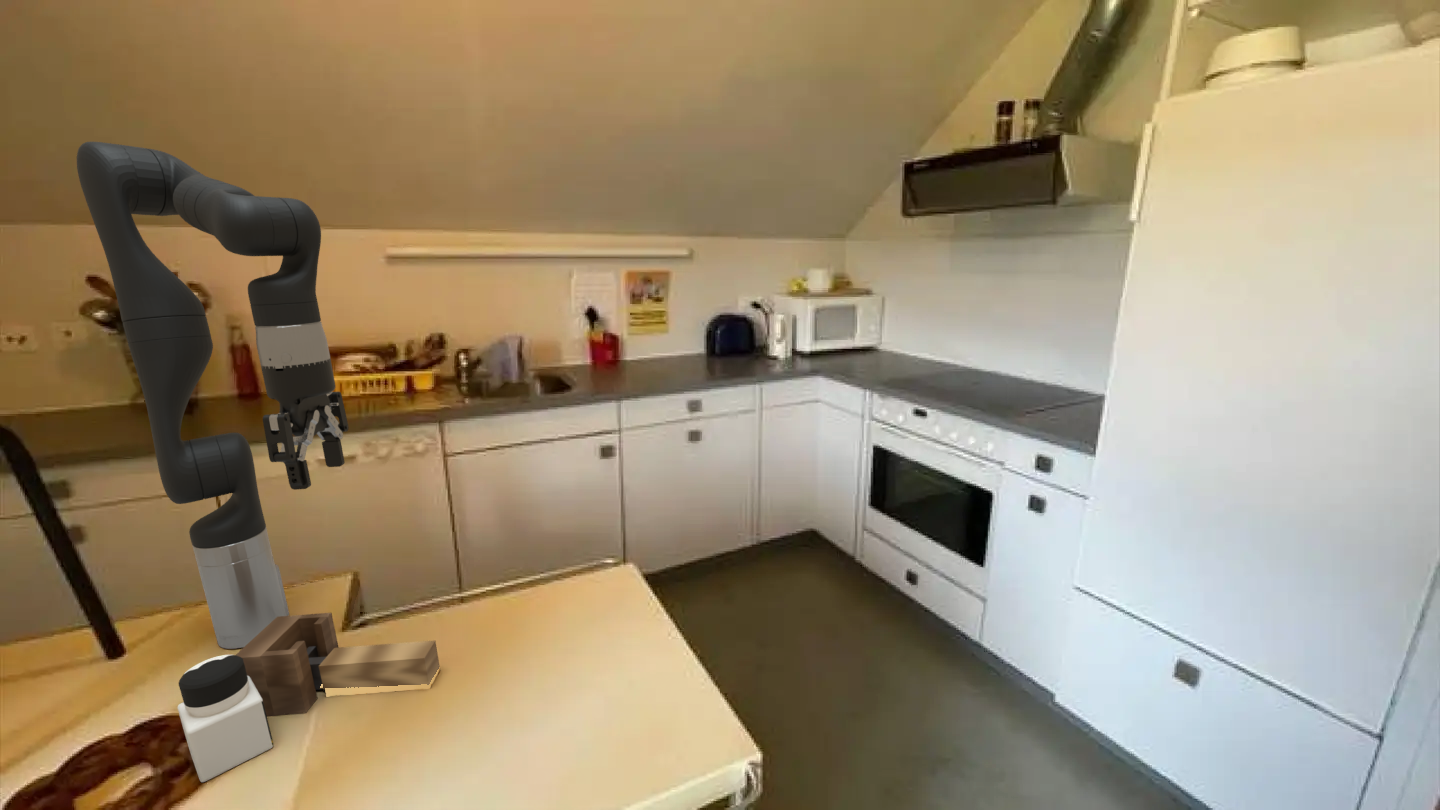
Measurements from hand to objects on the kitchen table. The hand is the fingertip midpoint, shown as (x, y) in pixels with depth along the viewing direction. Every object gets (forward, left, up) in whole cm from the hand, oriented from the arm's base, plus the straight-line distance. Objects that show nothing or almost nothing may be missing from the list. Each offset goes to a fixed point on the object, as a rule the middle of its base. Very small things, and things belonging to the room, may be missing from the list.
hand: (319, 476), depth 83 cm
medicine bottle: (+15, -8, -30) cm, 34 cm away
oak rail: (+4, +4, -30) cm, 31 cm away
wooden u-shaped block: (+4, -6, -30) cm, 31 cm away
